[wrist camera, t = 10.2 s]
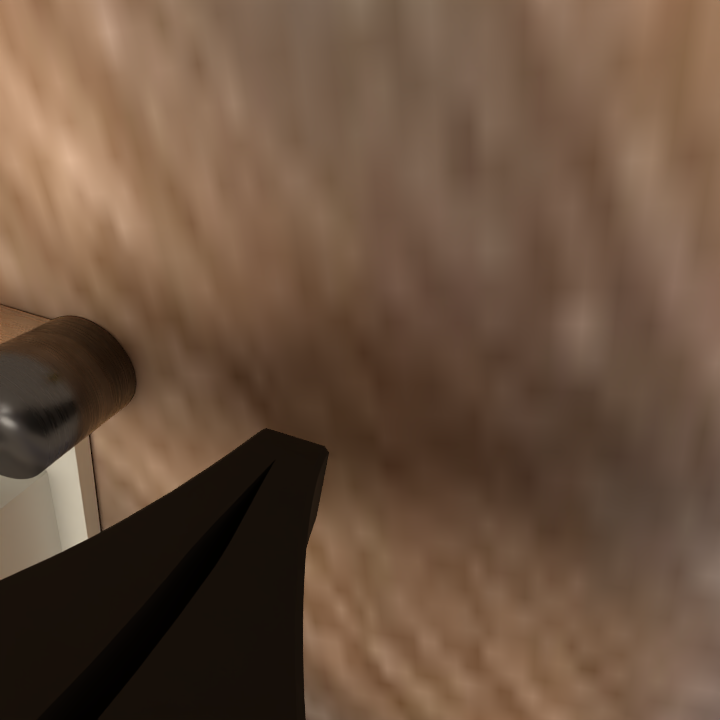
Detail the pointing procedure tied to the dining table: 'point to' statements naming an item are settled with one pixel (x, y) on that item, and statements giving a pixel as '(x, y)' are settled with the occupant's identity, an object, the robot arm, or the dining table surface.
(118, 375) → the pin
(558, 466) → the dining table surface
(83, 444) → the dock
